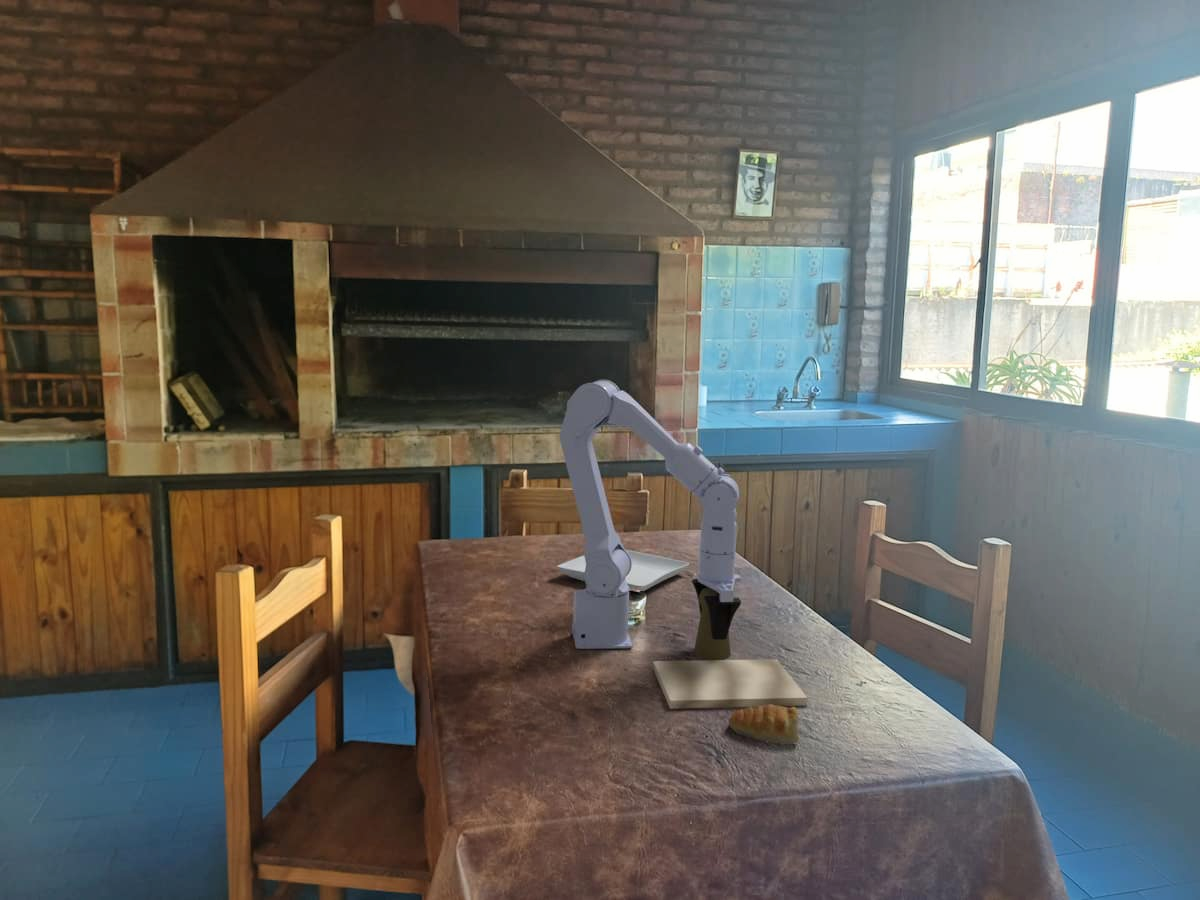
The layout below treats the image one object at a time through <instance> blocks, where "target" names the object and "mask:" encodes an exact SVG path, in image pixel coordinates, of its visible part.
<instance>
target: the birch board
mask: <svg viewBox="0 0 1200 900" xmlns="http://www.w3.org/2000/svg"><path fill="white" fill-rule="evenodd" d="M652 664H653V665H652V669H653V672H654V674H655V676H656V679H657V681H658V684H659V686H660V689H661V690H662V693H663V695H664V698H665V700H666V703H667V706H668V707H669V709H670V710H672V709H673V710H674V709H709V708H710V709H711V708H713V709H715V708H748V707H753V708H756V707H758V706H762V707H763V706H765V705H768V704H772V705H774V706H782V707H797V706H798V707H799V706H808V696H807V695H806V694H805V692H804V691H803V690H802V689H801V688H800V686H799V685H798V684H797V682H796V680H794V679H793V678H792V676H791V675H790V674H789V672H787V670H786V668H784V666H783V665H782V664H781V662H780V661H779V660H778V658H774V659H773V658H771V659H769V658H767V659H765V658H763V659H762V658H761V659H760V658H759V659H723V660H709V659H704V660H702V659H701V660H655V661H653V662H652Z"/></svg>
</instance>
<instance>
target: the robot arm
mask: <svg viewBox="0 0 1200 900" xmlns="http://www.w3.org/2000/svg"><path fill="white" fill-rule="evenodd" d="M564 415H565V416H564V419H563V421H562V425H561V429H560V431H559V441H560V445H561V449H562V453H563V457H564V460H565V465H566V469H567V473H568V477H569V480H570V484H571V488H572V491H573V496H574V499H575V505H576V508H577V512H578V515H579V520H580V523H581V527H582V532H583V535H584V539H585V540H584V551H583V555H584V557H585V561H586V568H585V572H584V579H585V582H584V583H585V585H586V588H584V589H577V590H576V589H575V590H574V592H573V606H572V607H573V608H572V609H573V613H572V622H571V633H572V636H573V642H574V647H575V648H576V649H579V650H582V649H583V650H588V649H589V650H590V649H592V650H595V649H597V650H599V649H632V648H633V647H634V646H633V645H634V644H633V643H632V639H631V637H630V634H629V607H630V606H629V604H630V603H629V602H630V592H629V586H628V585H627V583H626V580H625V577H626V576H627V575H628V574H629V572H630V570H631V567H632V561H631V557H630V555H629V554H628V552H627V551H626V550H627V549H625V547H624V546H623V543H622V540H621V537H620V535H619V534H618V533H617V531H616V530H615V526H614V523H613V518H612V514H611V512H610V507H609V504H608V503H609V502H608V500H607V496H606V495H607V494H606V492H605V487H604V483H603V480H602V476H601V472H600V468H599V464H598V461H597V460H598V459H597V456H596V453H595V448H594V445H593V444H594V443H593V439H594V437H595V436H596V435H597V432H599V430H600V428H602V426H603V423H605V422H607V424H609V425H616V426H624V427H628V429H630V430H632V432H634V433H635V434H636V435H637V436H639V438H640V439H642V440H643V441H645V443H646V444H648V445H649V446H650V447H651V448H652V449H654V450H655V451H656V452H657V453H659V454H660V455H661V457H663V458H664V461H665V470H666V471H667V472H668V473H669V474H671V475H672V476H673V477H674V478H675V479H676V480H677V481H678V482H679V483H680V484H681V485H683V486H684V488H686V489H687V490H688V491H689V492H690V493H691V494H693V495H694V496H696V497H699V503H700V506H701V507H702V520H701V522H700V523H701V524H700V543H699V560H698V561H699V563H698V572H697V577H696V578H693V579H691V583H692V585H693V587H694V589H695V590H694V591H695V593H696V596H697V601H698V608H699V614H700V616H701V611H702V607H701V605H700V602H699V595H700V593H701V591H702V590H703V589H705V588H707V587H709V588H711V589H713V590H715V591H717V592H718V593H717V594H716V596H704V599H705V602H706V604H707V607H708V610H709V615H710V623H711V633H712V637H713V639H714V640H723V639H726V637H727V635H728V631H729V632H730V627H731V624H732V620H733V618H734V616H735V614H736V612H737V611H738V609H739V608H740V607H741V604H742V600H741V598H739V597H734V596H735V594H734V591H735V590H734V587H735V583H740V582H742V577H741V576H740V575H739V574H736V573H735V564H736V563H735V562H736V547H737V545H736V544H737V529H738V527H737V526H738V524H737V516H738V513H737V505H738V503H739V501H738V500H739V497H740V489H739V486H738V484H737V482H736V480H734V478H733V476H732V475H730V474H727V473H725V470H724V469H723V468H722V467H721V466H720V467H719V468H718V467H716V466H715V465H714V464H713V463H712V462H711V461H710V460H709V459H708V458H707V457H705V456H704V455H703V454H702V453H703V451H704V450H703V449H702V447H700V446H699V445H696V446H693V444H692V443H690V442H687V443H685V442H684V443H682V442H681V443H680V442H678V441H677V440H676V439H675V438H674V437H673V436H672V435H670V433H669V432H668V431H667V430H666V429H664V427H662V426H661V424H660V423H658V422H657V421H656V419H654V417H653V416H651V414H649V412H647V411H646V409H644V408H643V407H642V406H641V404H639V403H638V402H637V401H636V400H635V399H634V398H633V397H632V396H631V395H630V394H628V393H627V392H626V391H625V390H620V388H619V387H618V384H617V385H616V383H614V382H613V381H611V380H608V379H598V380H596V381H593V382H588V383H584V384H582V385H580V386H579V387H577V389H576V390H575V391H574V393H572V395H571V396H570V398H569V399H568V401H567V402H566V412H565V414H564Z"/></svg>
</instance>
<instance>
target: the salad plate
mask: <svg viewBox="0 0 1200 900" xmlns="http://www.w3.org/2000/svg"><path fill="white" fill-rule="evenodd" d="M625 550H626V551H627V552H628V554H629V555H630V557H631V561H632V567H631V570H630V572H629V574H628V575H627V576H626V577H625V580H626V583H627V585H628V586H629V588H634V589H638V590H640V591H643V592H645V591H646V590H648V589H650V588H652V587H654V586H657V585H658V584H660V583H662V582H663V581H666V580H668V579H670V578H672V577H674V576H676V575H679V574H680V573H682V572H683V571H684V570H686V569H687V568H688V567H689V565H690V563H689V562H687V561H683V560H678V559H673V558H668V557H665V556H659V555H654V554H650V553H644V552H639V551H635V550H629V549H625ZM556 568H557V570H559V571H560V572H561V573H562V574H564V575H565V576H567V577H570V578H573V579H575V580H579V581H580V580H581V581H580V582H583V581H585V579H584V572H585V568H586V561H585V557H584V554H583V555H581V556H578V557H576V558H573V559H570V560H568V561H566V562H563V563H561V564H557V566H556Z"/></svg>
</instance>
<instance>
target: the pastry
mask: <svg viewBox="0 0 1200 900" xmlns="http://www.w3.org/2000/svg"><path fill="white" fill-rule="evenodd" d="M799 721H800V720H799V710H798V709H797V707H796V706H790V708H789V707H787V706H774V705H772V704H768V705H765V706H763V707H762V706H758V707H745V708H741V709H736V710H735V711H733V712H732V713H731V715H730V717H729V718H728V725H729V727H730V729H732V730H733V732H735V733H736V734H738V735H741V736H745V737H748V738H750V739H753V738H754V740H756V741H758V740H759V742H766V741H768V743H772V742H775V743H774V744H777V743H786V744H794V743H796V744H797V743H798V742H799V738H800V722H799ZM794 745H795V744H794Z"/></svg>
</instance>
